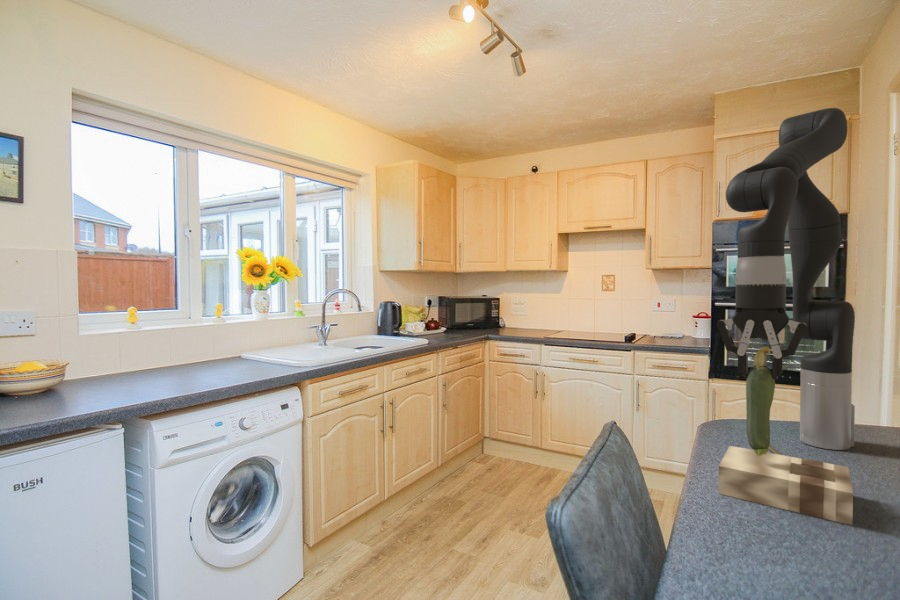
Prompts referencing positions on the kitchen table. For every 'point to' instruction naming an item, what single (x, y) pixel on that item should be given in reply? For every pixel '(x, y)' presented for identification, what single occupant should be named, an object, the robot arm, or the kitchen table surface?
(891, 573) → the kitchen table surface
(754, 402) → the vegetable
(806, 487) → the wooden block with hole
